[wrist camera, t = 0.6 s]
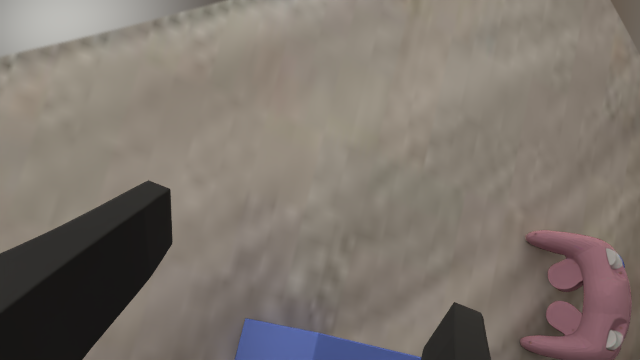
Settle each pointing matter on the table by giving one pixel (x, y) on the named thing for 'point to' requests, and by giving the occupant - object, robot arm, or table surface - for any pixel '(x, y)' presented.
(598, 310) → the video game controller
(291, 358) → the walkman
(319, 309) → the table surface
